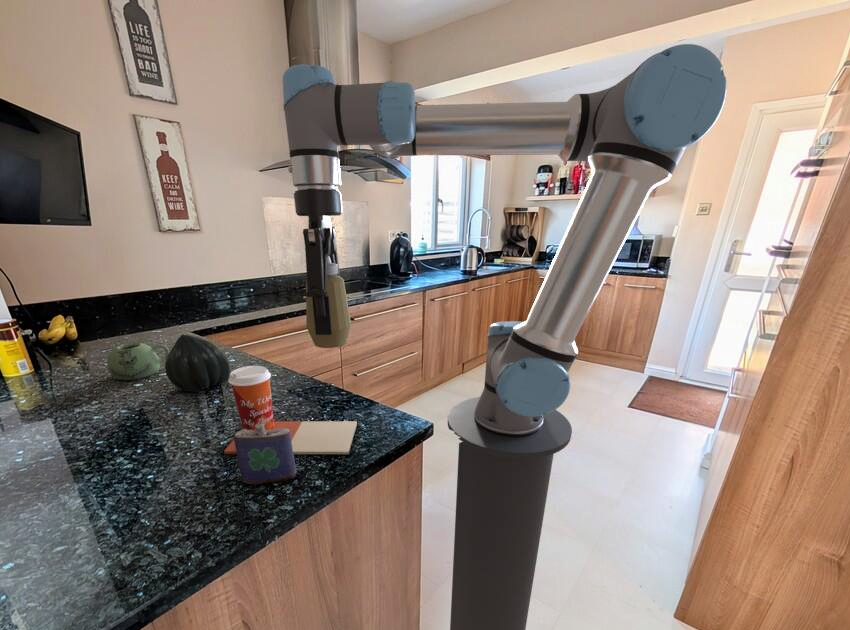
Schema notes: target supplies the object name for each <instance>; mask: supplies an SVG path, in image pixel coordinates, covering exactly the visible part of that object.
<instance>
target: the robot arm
mask: <svg viewBox="0 0 850 630" xmlns="http://www.w3.org/2000/svg"><path fill="white" fill-rule="evenodd" d="M334 79H335V78H334V75H333V73H332V72H331V70H330V69H329V68H326V67H324V66H321V65H318V64H317V65H315V64H313V65H311V64H309V63H308V64H307V63H304V64H303V63H301V64H295V65H292V66H289V67H288V68H286V70H285V71H284V72H283V75H282V93H283V104H282V106H283V111H284V120H285V126H286V134H287V143H288V148H289V149H288V150H289V159H290V165H289V166H288V168H287V171H288V173H290V174H291V177H292V179H291V180H292V186H293V187H295V188H297V190H295V191H294V193H293V199H294V200H293V201H294V209H295V214H296V215H297V216H299V217H308V224H307V225H308V226H307V227H308V228H303V230H302V235H303V242H304V251H305V253H304V254H305V268H306V281H307V288H308V290H307V292H306V291H305V296H306V295H307V297H312V301H313V311H314V320H315V330H316V335H332V324H331V312H330V300H329V296H327V294H328V293H327V257H328V256H330V260H331V263H334V264H337V266H338V274H335V275H337V276H340V277H341V273H340V264H339V255H338V246H337V228H336V226H332V221H331V217H336V216H337V217H338V216H341V215H342V214H343V205H342V204H343V201H342V193H341V192H340V190H339V189H338V188H340V187H341V185H342V181H341V180H342V179H341V168H340V167H341V166H340V157H339V156H340V155H339V147H340V146H347V147H349V146H369V147H370V149H371V150H372V151H373V152H374V153H375V154H376V155H377V156H378V157H380V158H383V159H385V160H394V159H398V158H400V157H414V156H415V157H417V156H424V157H425V156H524V155H525V156H531V155H532V156H534V155H537V156H538V155H539V156H540V155H543V156H545V155H547V156H548V155H549V156H550V155H552V156H553V155H557V156H558V157H559V159H560V160H561V161H562V162H587V163H588V164H589V166H590V169H591V176H590V178H589V180H588V182H587V184H586V187H585V189H584V191H583V194H582V196H581V198H580V200H579V202H578V205H577V207H576V209H575V211H574V213H573V216H572V218H571V220H570V222H569V225H568V227H567V229H566V232H565V234H564V236H563V238H562V240H561V242H560V244H559V246H558V249H557V251H556V254H555V256H554V258H553V259H552V262H551V265H550V266H549V269H548V272H547V273H546V276H545V278H544V281H543V283H542V285H541V287H540V289H539V291H538V294H537V296H536V298H535V301H534V303H533V305H532V307H531V308H530V312H529V314H528V315H527V318H526V320H525V321H512V320H511V321H497V322H494V323H492V324H491V325H490V326H489V327H488V331H487V335H486V339H487V347H486V359H485V374H484V386H483V389H482V392H481V394H480V396H479V397H480V399H479V401H478V403H477V406H476V408H475V412H474V420H475V422H476V424H477V425H478V426H479V427H481V428H482V429H484V430H486V431H488V432H490V433H493V434H497V435H501V436H507V437H523V436H529V435H532V434H535V433H537V432H538V431H540V430H541V428H542V425H543V415H544V414H548V413H551V412H553V411H554V410H557V409H559V408H561V406H562V405H563V404H564V403H565V402H566V400H567V398H568V396H569V394H570V391H571V379H570V375H569V371H570V369H571V367H572V366H573V365H574V362H575V360H576V358H577V356H578V354H579V350H578V347H577V344H576V337H577V335H578V333H579V332H580V329H581V327H582V326H583V323H584V322H585V320H586V318H587V316H588V314H589V312H590V310H591V308H592V306H593V304H594V302H595V300H596V298H597V296H598V295H599V293H600V291H601V289H602V286H603V284H604V283H605V282H606V281H605V280H606V279H607V277H608V275H609V273H610V271H611V270H612V267H613V265H614V263H615V261H616V260H617V257H618V255H619V253H620V251H621V250H622V247H623V246H624V244H625V242H626V240H627V238H628V236H629V234H630V232H631V230H632V228H633V227H634V224H635V222H636V220H637V219H638V217H639V215H640V212H641V210H642V208H643V207H644V204H645V202H646V200H647V199H648V197H649V195H650V193H651V192H652V190H653V189H655V188H656V187H657V186H660V185H662V184H664V183H666V182H668V181H669V180H670V179H671V177H672V175H673V173H674V171H675V169H676V167H677V166H678V164H679V162H680V160H681V159H682V156H683V155H684V152H685V150H686V149H687V148H689V147H691V146H692V145H694V144H695V143H697V142H698V141H699V140H701V138H703V137H704V136H705V135H706V134H707V133H708V132H709V131H710V130H711V128H712V127H713V126H714V125H715V123H716V122H717V121H718V118H719V117H720V115H721V112H722V110H723V108H724V105H725V101H726V98H727V89H728V87H727V86H728V85H727V84H728V83H727V77H726V76H725V72H724V69H723V64H722V62H721V61H720V58H718V57H717V55H716V54H715V53H714V52H713V51H712V50H710V49H709V48H707V47H705V46H702V45H699V44H696V43H695V44H694V43H682V44H676V45H673V46H670V47H668V48H666V49H663V50H662V51H660V52H657V53H655V54H652V55H651V56H649V57H648V58H646V59H645V60H643V62H641V63H640V65H638V66H637V68H636V69H635V70H634V71H632V72H631V73H629V74H628V75H627V76H625V77H624V78H622V80H620V81H619V82H617V83H616V84H614V85H613V86H610V87H607V88H605V89H601V90H599V91H596V92H590V93H574V94H573V95H572V96H571V97H570V98H569V99H568V100H567V101H538V102H497V103H495V102H494V103H493V102H492V103H456V104H455V103H453V104H418V105H416V93H415V88H414V86H413V85H412V84H411V83H410V82H401V81H400V82H398V81H392V80H387V81H383V82H369V83H368V82H367V83H353V84H338V83H336V82H335V80H334Z"/></svg>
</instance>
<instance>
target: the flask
mask: <svg viewBox="0 0 850 630" xmlns="http://www.w3.org/2000/svg"><path fill="white" fill-rule="evenodd" d="M260 423H262V424H256V426H255V428H256V429H255V430H254V431H251V430H246V429H244V430H242V429H241V430H242V431H241V430H239V431H236V432H235V433H234V435H233V440H234V442H235V447H236V452H237V454H236V456H237V461H238V462H237V463H238V468H239V472H240V476H241V477H240V478H241V479H242V482H243V483H245V484H266V483H274V482H282V481H288V480H290V479H291V480H292V479H294V478H295V477H296V474H297V467H296V462H295V454H293V449H292V442H291V433H290V431H289V429H287V428H281V429H275V430H265V428H264V425H265V424H266V423H265V422H260Z"/></svg>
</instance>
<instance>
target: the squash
mask: <svg viewBox="0 0 850 630" xmlns="http://www.w3.org/2000/svg"><path fill="white" fill-rule="evenodd" d="M169 352H170V353H169V354H168V356H167V358H166V360H165V361H164V362H165V363H164V367H165V368H164V370H165V374H166V376H167V378H168V380H169V381H170V382H171V384H172V385H174V387H176V388H177V389H179V390H181V391H187V392H190V393H198V392H200V391H201V390H202V389H208V388H209V387H210V386H221V385H223V384H224V383H226V382H227V381H228V380H229V378H230V373H231V365H230V362H229V359H228V357H227V355H226V353H224V351H223V350H222V348H220V347H219V346H218V345H217V344H216V343H214V342H213V341H209V340H207V339H205V338H201V337H199V336H198V337H197V336H194V335H192V334H191V335H190V334H185V333H183V334H181V335H180V336H179V337H178V338H177V340H176V341H175V343H174V345H173V346H172V348H171V349H170V350H169Z"/></svg>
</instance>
